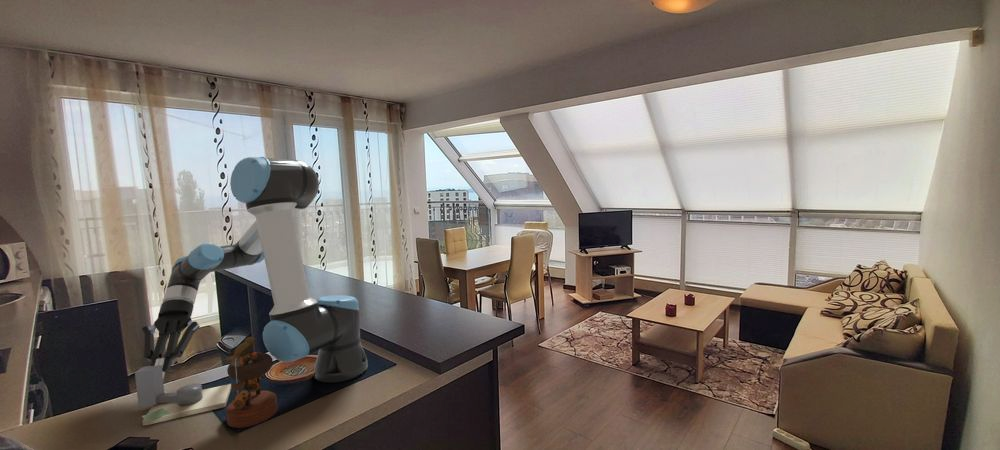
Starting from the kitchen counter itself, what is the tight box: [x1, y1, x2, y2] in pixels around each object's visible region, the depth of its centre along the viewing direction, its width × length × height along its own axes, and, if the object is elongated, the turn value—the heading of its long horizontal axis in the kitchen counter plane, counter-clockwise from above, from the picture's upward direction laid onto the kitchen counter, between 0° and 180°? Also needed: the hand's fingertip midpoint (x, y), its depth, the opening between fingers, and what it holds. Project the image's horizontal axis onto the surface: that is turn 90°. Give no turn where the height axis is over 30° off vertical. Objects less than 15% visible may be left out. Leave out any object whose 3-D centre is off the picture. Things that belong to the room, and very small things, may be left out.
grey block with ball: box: [134, 365, 203, 407], centre depth 98 cm, size 14×5×9 cm, turn 97°
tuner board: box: [141, 383, 232, 427], centre depth 98 cm, size 17×12×1 cm
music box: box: [223, 336, 278, 429], centre depth 94 cm, size 15×11×20 cm
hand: (155, 384), depth 100 cm, fingers closed
